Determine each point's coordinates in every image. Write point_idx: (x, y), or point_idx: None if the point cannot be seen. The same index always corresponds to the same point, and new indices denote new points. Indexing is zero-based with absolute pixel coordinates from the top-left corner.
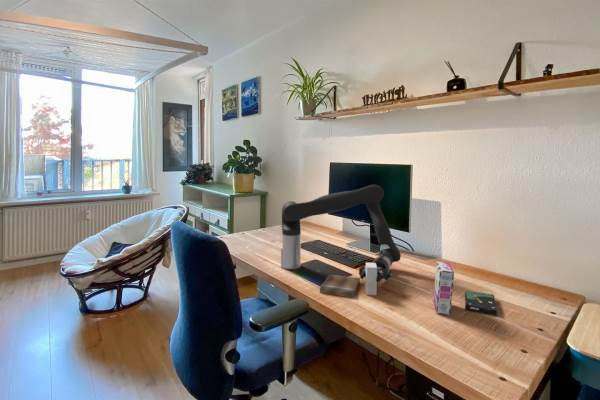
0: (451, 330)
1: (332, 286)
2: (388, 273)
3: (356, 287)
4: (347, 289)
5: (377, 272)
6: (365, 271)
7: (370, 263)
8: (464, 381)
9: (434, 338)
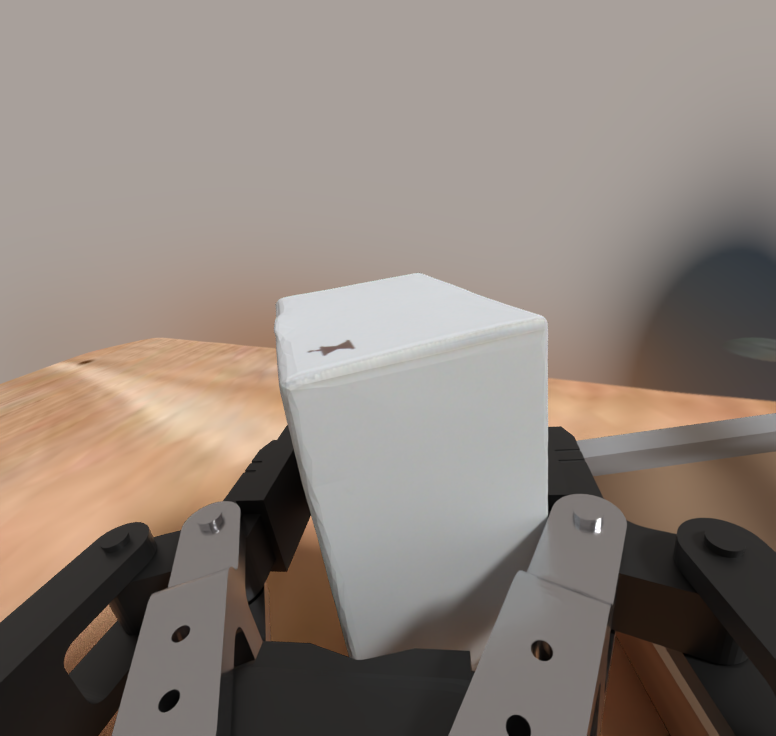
0: (39, 442)
1: (765, 426)
2: (44, 589)
3: (637, 643)
4: (599, 438)
5: (280, 661)
6: (544, 515)
7: (409, 321)
8: (174, 339)
9: (150, 393)
